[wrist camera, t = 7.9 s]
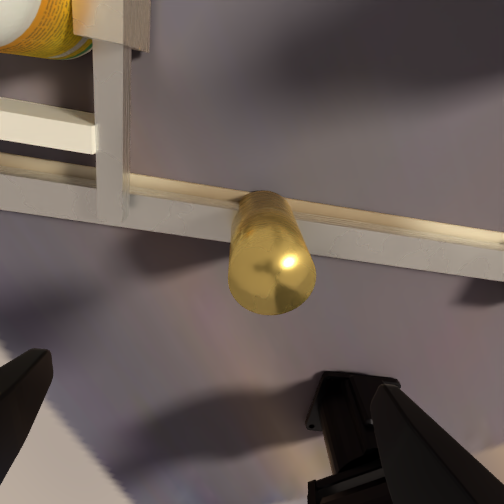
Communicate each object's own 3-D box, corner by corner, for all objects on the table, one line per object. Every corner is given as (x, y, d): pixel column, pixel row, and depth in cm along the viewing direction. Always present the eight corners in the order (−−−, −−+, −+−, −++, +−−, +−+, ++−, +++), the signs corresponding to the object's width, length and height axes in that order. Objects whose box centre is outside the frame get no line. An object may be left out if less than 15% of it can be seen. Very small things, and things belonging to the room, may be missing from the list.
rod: (598, 296, 24) (722, 370, 18) (-27, 207, 20) (-150, 264, 14) (772, 63, 18) (1062, 52, 12) (-98, -147, 13) (-396, -350, 7)
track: (710, 317, 26) (778, 350, 23) (-52, 210, 20) (-108, 234, 17) (763, 262, 24) (845, 291, 20) (-72, 125, 18) (-140, 134, 15)
